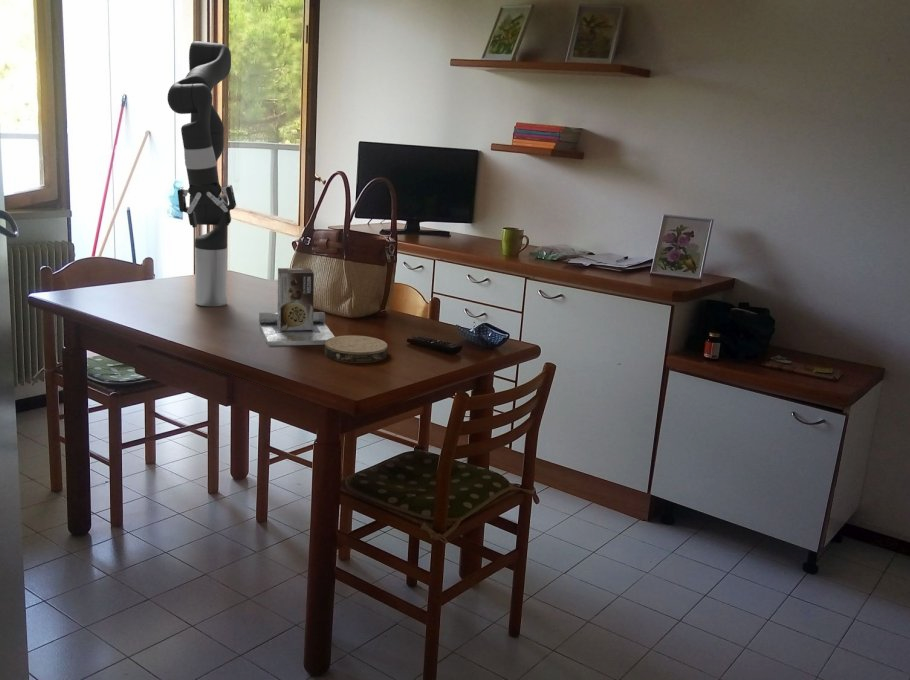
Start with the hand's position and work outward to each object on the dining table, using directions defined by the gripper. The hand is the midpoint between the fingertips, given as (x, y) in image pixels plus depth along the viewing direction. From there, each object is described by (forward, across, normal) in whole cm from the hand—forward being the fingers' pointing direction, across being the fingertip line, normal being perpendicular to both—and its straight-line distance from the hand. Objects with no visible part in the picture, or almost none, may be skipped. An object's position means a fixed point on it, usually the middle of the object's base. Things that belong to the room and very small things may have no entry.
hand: (211, 225), depth 221 cm
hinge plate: (+30, -20, +7) cm, 37 cm away
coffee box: (+29, -19, +5) cm, 35 cm away
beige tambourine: (+30, -37, +22) cm, 53 cm away
